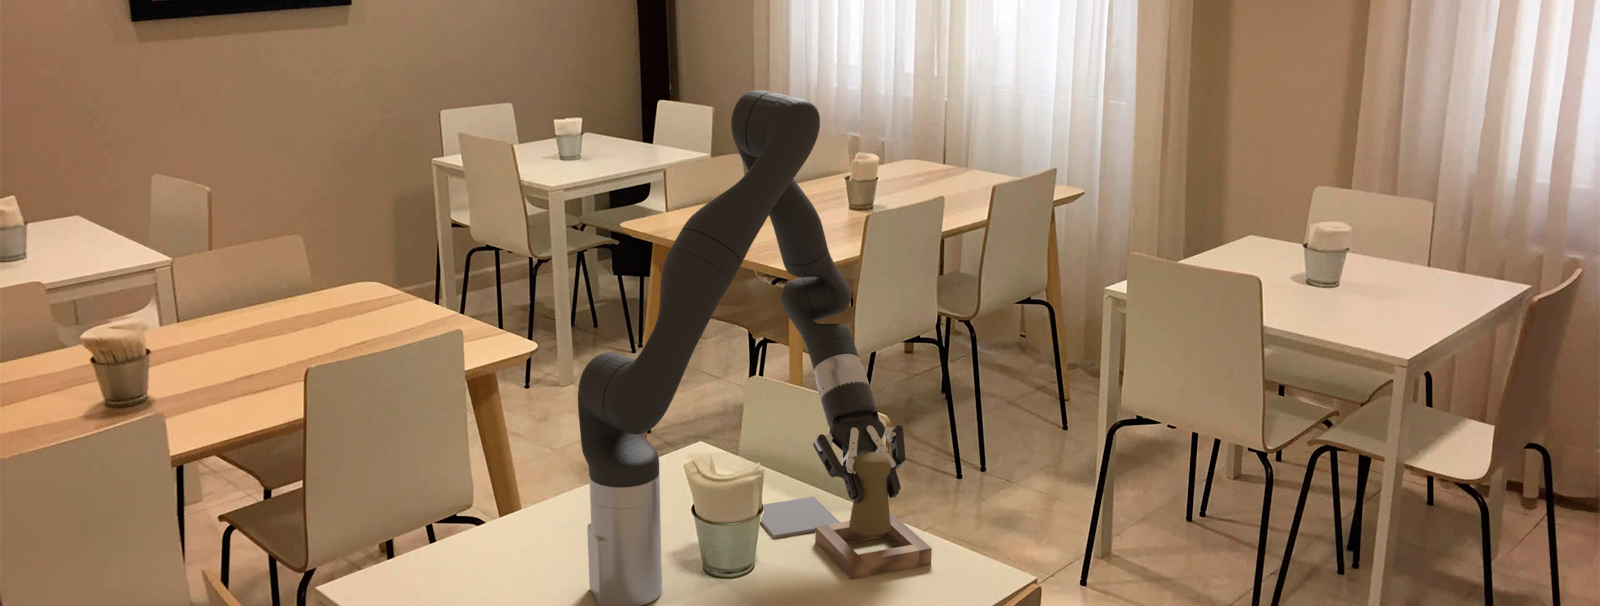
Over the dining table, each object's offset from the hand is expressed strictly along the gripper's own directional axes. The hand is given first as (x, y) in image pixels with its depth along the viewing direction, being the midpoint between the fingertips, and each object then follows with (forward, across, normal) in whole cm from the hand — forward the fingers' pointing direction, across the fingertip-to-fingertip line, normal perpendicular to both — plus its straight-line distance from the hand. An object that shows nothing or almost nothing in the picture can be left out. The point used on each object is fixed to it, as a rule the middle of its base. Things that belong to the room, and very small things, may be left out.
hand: (877, 497), depth 184 cm
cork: (+2, 0, +5) cm, 6 cm away
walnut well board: (+5, 0, +8) cm, 9 cm away
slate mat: (-5, -6, +19) cm, 20 cm away
